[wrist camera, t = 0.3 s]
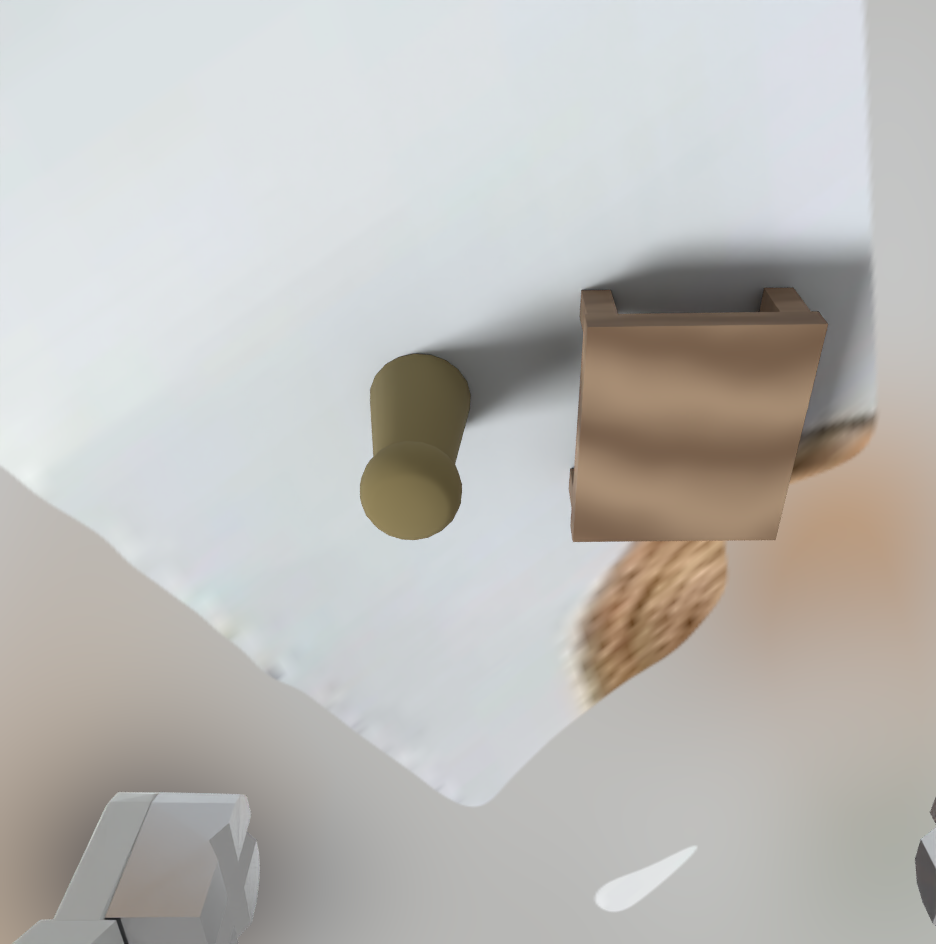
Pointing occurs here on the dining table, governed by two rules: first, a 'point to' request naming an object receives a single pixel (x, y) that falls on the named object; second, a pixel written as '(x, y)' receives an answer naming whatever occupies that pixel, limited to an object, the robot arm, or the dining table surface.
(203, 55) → the dining table surface
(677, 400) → the walnut stand
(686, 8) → the dining table surface
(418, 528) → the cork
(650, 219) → the dining table surface
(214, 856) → the robot arm
